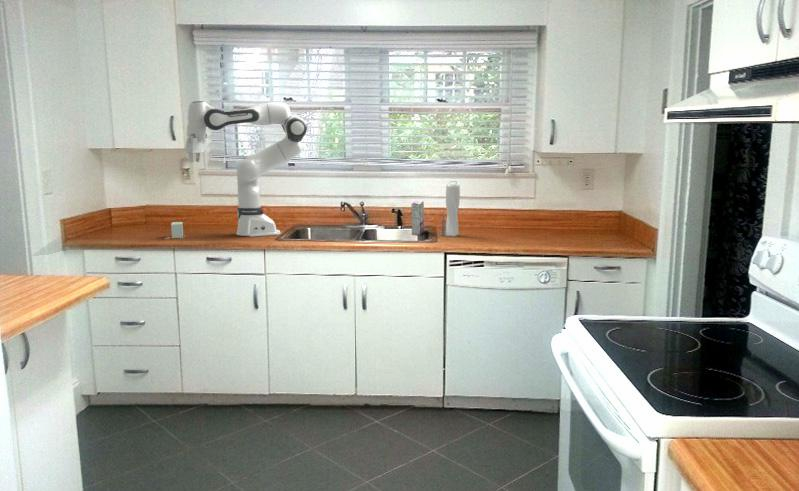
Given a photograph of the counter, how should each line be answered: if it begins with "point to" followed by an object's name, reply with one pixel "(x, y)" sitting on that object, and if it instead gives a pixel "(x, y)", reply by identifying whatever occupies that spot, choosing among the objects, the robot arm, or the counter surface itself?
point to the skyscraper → (451, 210)
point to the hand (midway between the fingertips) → (194, 162)
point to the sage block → (177, 230)
